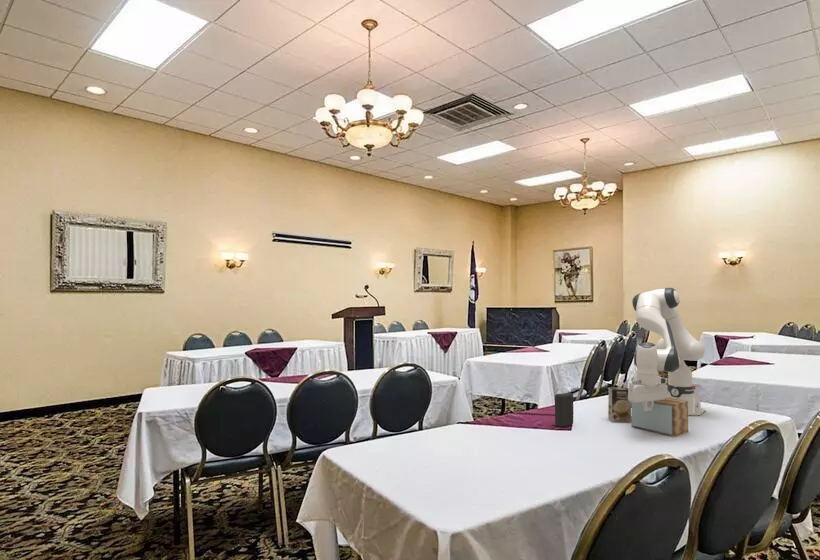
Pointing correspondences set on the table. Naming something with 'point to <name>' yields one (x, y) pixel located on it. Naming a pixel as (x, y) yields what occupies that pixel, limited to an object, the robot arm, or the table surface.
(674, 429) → the cabinet
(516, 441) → the table surface
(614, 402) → the coffee box
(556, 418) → the card reader
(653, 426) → the door
